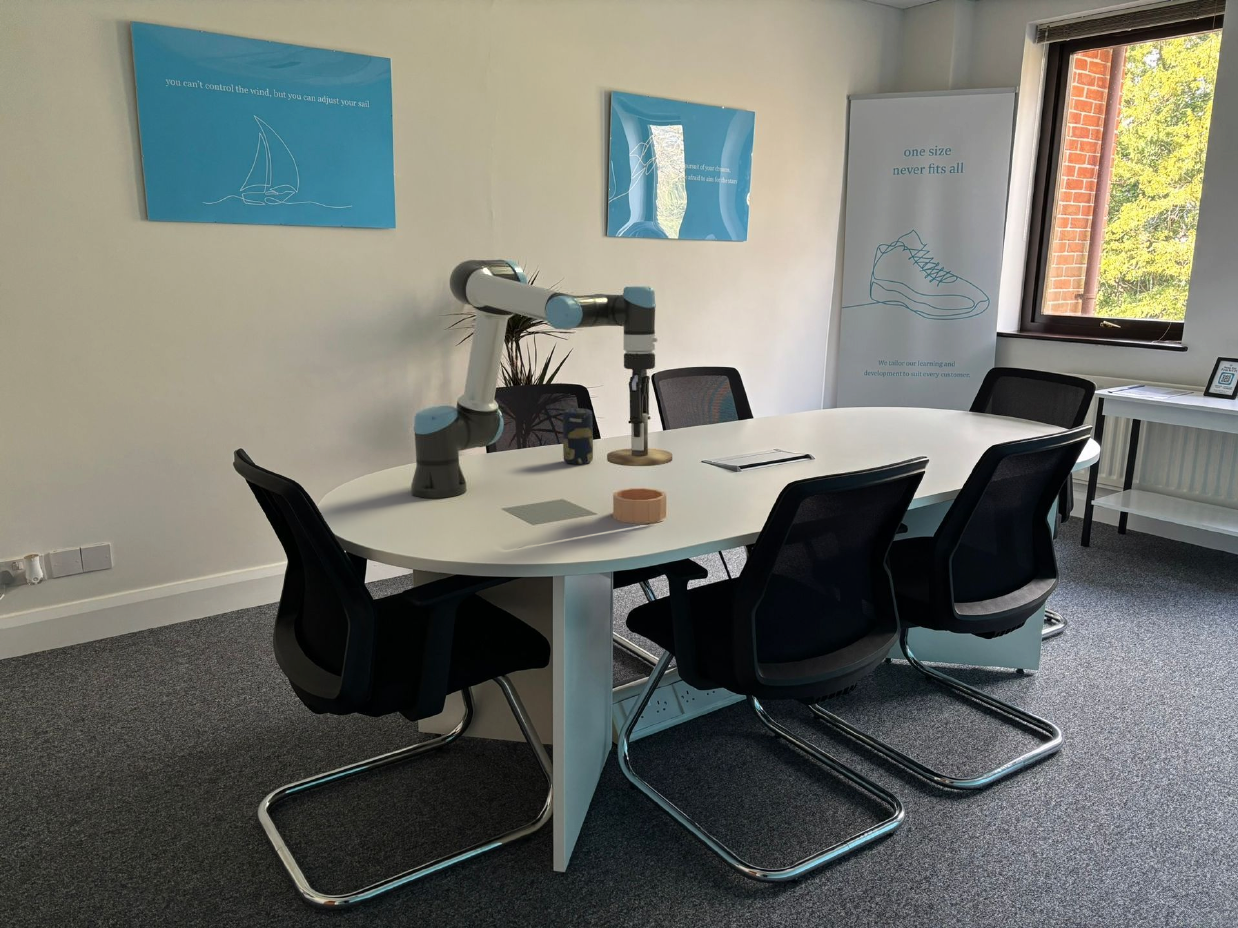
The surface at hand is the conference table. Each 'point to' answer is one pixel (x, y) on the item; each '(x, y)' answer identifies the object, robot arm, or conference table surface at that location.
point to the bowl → (639, 505)
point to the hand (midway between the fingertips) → (639, 447)
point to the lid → (640, 453)
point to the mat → (548, 511)
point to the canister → (577, 436)
